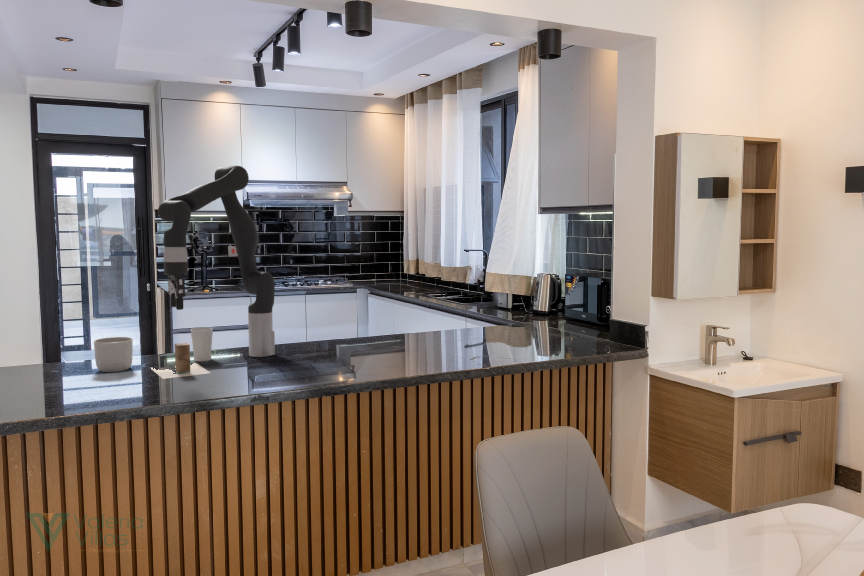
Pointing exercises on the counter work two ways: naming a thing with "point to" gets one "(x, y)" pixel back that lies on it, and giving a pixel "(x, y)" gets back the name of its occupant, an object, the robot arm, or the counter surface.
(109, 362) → the planter
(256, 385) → the counter surface
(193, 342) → the cup
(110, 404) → the counter surface
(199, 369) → the cream flat rectangular panel
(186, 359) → the walnut block
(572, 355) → the counter surface
